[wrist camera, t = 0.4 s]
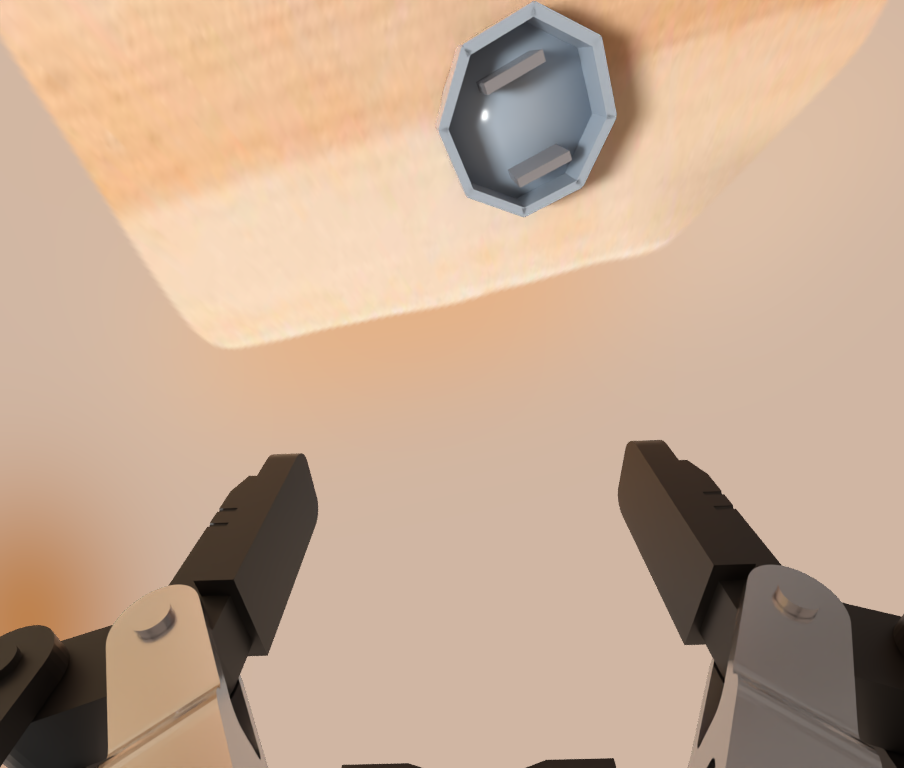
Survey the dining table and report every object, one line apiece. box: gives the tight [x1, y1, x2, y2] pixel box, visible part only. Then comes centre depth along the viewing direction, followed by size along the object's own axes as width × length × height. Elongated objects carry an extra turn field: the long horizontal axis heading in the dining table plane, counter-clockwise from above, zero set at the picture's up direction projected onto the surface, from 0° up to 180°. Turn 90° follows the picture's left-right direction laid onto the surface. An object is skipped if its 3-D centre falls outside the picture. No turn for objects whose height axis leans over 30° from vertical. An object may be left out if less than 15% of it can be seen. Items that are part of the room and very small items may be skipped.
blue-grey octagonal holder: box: [435, 1, 617, 217], centre depth 27 cm, size 10×10×4 cm
